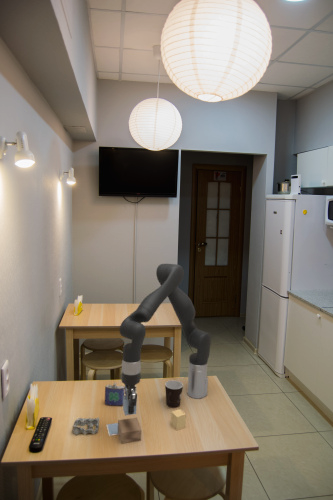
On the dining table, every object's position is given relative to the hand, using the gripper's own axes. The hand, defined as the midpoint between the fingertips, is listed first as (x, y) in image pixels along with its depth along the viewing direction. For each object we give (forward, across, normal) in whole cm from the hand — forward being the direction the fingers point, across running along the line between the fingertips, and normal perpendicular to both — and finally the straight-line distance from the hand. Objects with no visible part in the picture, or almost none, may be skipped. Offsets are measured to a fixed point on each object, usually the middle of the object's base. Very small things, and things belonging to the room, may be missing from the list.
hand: (129, 409), depth 145 cm
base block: (+11, 0, 0) cm, 11 cm away
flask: (+12, +25, +2) cm, 28 cm away
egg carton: (+12, +9, +16) cm, 22 cm away
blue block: (+1, 0, 0) cm, 1 cm away
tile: (+12, +6, +4) cm, 14 cm away
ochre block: (+12, +2, -22) cm, 25 cm away
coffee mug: (+12, +18, -24) cm, 32 cm away
